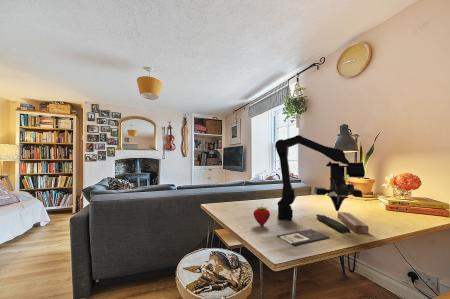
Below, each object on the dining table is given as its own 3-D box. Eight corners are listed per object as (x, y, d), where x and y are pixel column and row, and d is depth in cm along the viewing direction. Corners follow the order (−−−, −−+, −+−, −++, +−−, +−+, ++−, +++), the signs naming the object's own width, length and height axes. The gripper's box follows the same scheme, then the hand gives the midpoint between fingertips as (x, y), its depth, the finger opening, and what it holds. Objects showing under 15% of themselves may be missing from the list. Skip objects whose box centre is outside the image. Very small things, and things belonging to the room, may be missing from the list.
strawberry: (251, 224, 94) (251, 202, 94) (266, 223, 95) (266, 201, 96) (256, 228, 88) (256, 205, 88) (272, 227, 90) (272, 204, 90)
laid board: (353, 232, 86) (353, 224, 86) (337, 217, 106) (337, 211, 106) (368, 233, 85) (368, 225, 85) (349, 218, 105) (349, 212, 105)
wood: (357, 234, 85) (358, 226, 85) (341, 234, 84) (341, 226, 85) (326, 217, 107) (326, 211, 107) (312, 218, 106) (312, 212, 107)
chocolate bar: (329, 236, 79) (293, 244, 72) (329, 239, 79) (293, 247, 72) (311, 229, 88) (277, 235, 80) (311, 231, 88) (277, 237, 80)
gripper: (319, 177, 88) (319, 214, 88) (368, 179, 84) (368, 217, 84) (314, 175, 99) (313, 207, 99) (356, 176, 95) (356, 210, 95)
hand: (337, 210), depth 94 cm, fingers closed
